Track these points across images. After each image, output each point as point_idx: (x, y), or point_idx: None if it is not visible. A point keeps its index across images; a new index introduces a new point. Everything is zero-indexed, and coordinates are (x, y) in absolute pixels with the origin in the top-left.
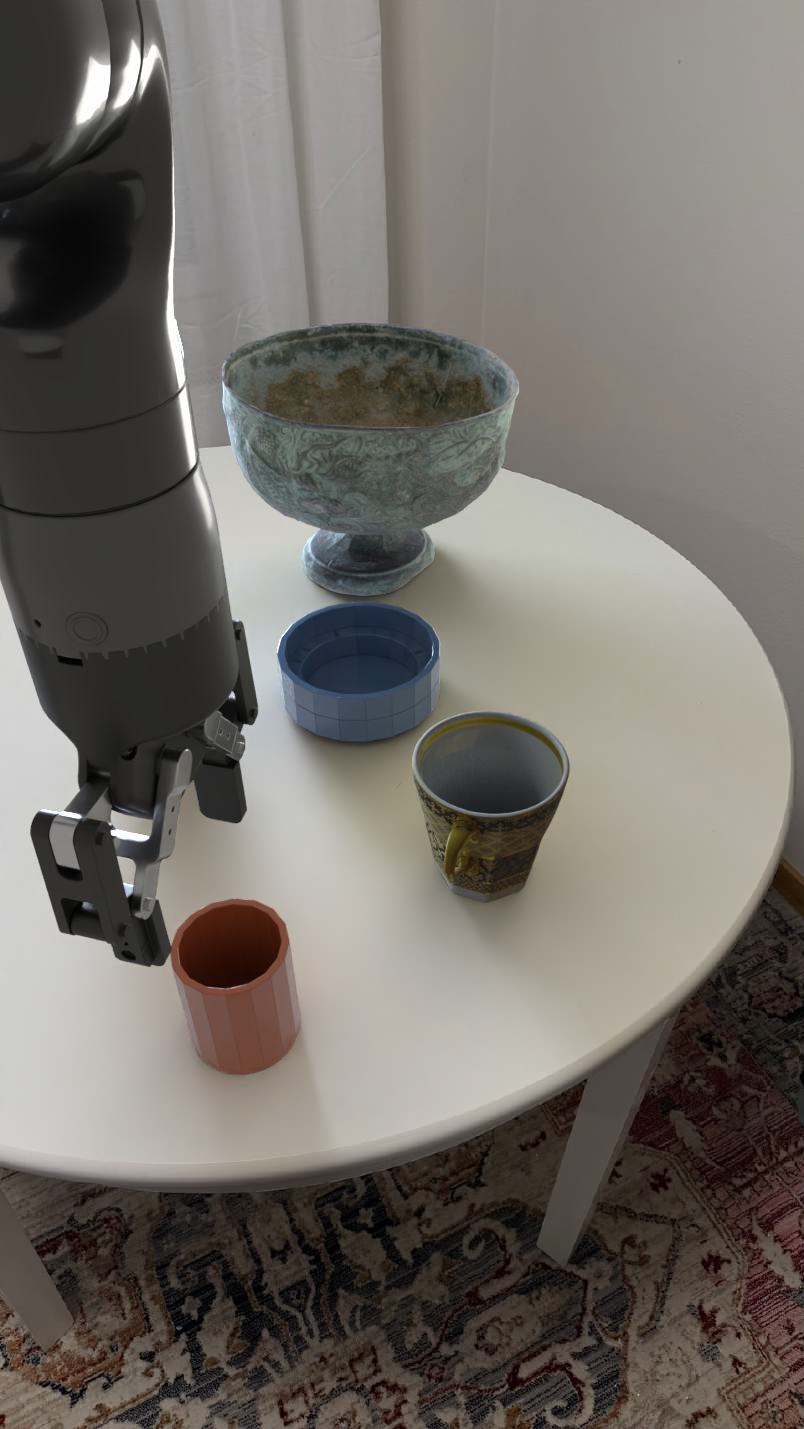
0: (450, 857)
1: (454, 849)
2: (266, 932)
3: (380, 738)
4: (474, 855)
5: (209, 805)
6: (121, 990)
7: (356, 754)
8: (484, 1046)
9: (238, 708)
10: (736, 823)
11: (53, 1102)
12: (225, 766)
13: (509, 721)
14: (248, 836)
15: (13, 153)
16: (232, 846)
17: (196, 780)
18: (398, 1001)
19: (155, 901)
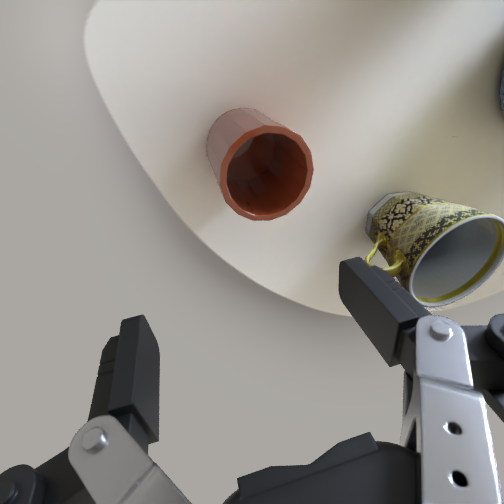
0: None
1: None
2: (295, 173)
3: (501, 103)
4: (387, 251)
5: (351, 281)
6: (229, 29)
7: (486, 87)
8: (280, 266)
9: (496, 401)
10: None
11: (120, 42)
12: (394, 358)
13: (497, 253)
14: (398, 43)
15: None
16: (386, 35)
17: (375, 299)
18: (291, 220)
19: (154, 439)
